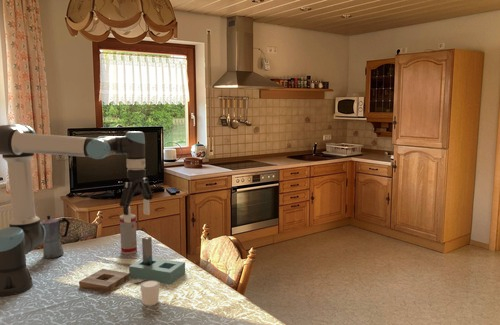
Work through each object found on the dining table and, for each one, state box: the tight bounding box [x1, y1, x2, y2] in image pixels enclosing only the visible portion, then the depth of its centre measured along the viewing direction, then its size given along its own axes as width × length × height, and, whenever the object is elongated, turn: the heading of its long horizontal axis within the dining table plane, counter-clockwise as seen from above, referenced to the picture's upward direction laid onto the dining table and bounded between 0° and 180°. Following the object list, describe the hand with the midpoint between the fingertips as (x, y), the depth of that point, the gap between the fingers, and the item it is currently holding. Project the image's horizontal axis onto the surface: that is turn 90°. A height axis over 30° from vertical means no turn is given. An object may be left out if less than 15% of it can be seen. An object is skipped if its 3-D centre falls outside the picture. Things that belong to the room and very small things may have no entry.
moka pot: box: [40, 215, 71, 259], centre depth 204 cm, size 10×15×20 cm, turn 115°
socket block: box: [78, 268, 131, 293], centre depth 173 cm, size 14×14×2 cm
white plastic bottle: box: [119, 204, 138, 255], centre depth 209 cm, size 8×8×25 cm
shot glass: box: [140, 280, 160, 306], centre depth 156 cm, size 7×7×7 cm
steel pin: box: [141, 236, 153, 266], centre depth 181 cm, size 4×4×16 cm
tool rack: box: [128, 257, 186, 285], centre depth 180 cm, size 12×20×5 cm, turn 70°
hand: (137, 218), depth 179 cm, fingers open, 13 cm apart
